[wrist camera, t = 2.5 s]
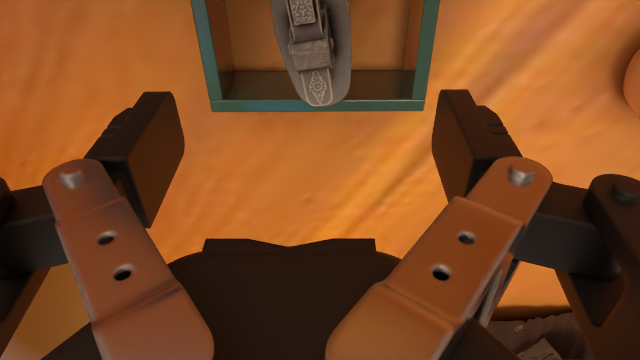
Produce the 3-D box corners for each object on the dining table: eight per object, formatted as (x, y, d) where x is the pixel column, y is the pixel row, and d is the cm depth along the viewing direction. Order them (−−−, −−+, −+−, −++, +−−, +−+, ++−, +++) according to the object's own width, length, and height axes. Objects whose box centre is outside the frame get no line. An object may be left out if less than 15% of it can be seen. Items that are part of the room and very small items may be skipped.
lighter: (354, 44, 28) (363, 128, 20) (300, 52, 28) (289, 138, 20) (335, -107, 23) (337, -73, 15) (271, -94, 23) (241, -55, 15)
